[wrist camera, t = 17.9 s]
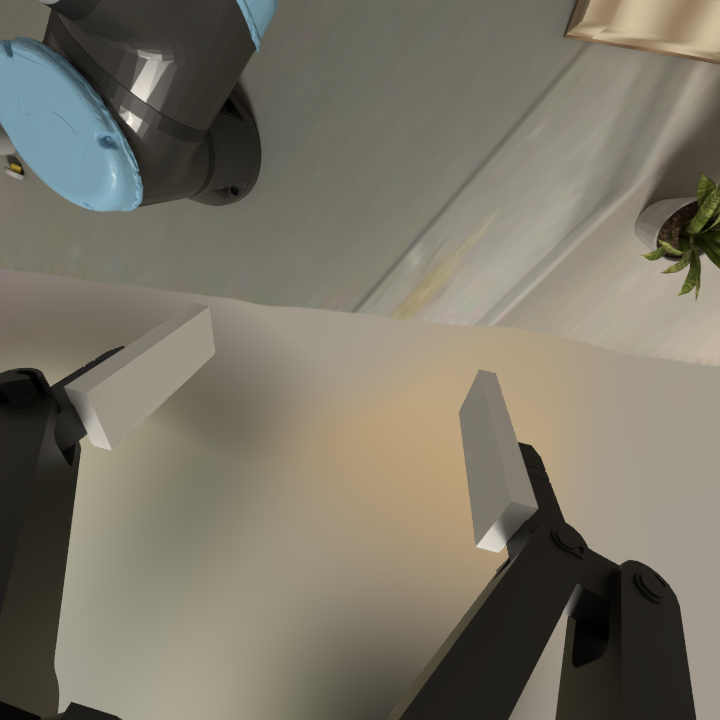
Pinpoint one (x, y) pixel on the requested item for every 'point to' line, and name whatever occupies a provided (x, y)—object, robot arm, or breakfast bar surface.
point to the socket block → (651, 26)
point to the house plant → (684, 231)
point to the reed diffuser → (4, 146)
